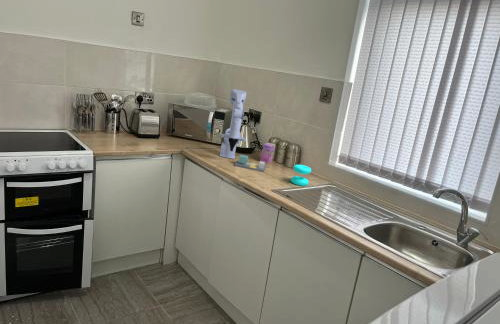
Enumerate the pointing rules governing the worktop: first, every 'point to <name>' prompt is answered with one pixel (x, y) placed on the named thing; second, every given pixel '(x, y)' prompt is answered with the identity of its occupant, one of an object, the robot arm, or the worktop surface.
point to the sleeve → (243, 159)
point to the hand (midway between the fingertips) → (231, 150)
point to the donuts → (298, 179)
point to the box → (267, 152)
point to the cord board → (252, 166)
